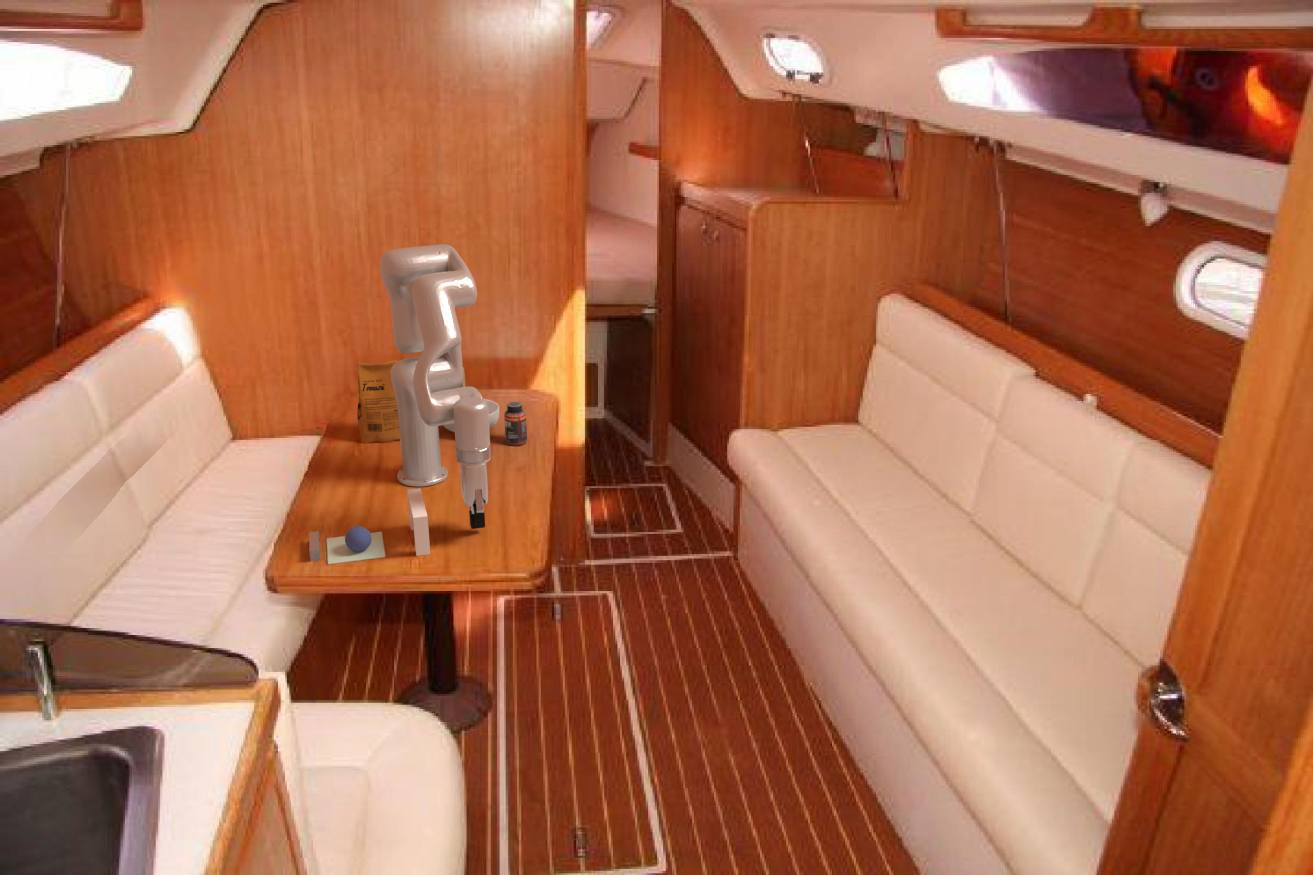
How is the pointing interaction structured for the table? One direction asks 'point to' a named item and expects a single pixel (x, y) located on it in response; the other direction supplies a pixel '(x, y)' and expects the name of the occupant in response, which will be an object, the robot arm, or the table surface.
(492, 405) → the cereal bowl
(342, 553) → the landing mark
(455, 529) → the table surface
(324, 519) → the table surface
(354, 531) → the ball
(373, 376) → the coffee package
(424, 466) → the robot arm
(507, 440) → the supplement bottle
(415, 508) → the bridge
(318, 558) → the wall
